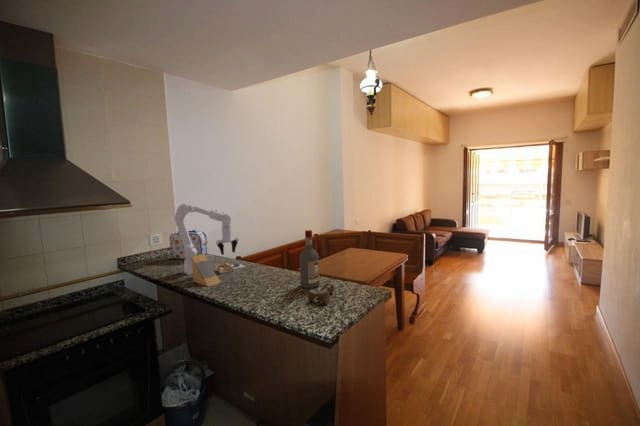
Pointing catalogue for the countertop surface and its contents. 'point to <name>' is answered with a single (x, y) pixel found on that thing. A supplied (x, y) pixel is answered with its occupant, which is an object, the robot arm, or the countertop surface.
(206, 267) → the sandwich container
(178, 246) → the lunch box
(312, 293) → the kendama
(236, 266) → the lid
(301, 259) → the liquor
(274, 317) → the countertop surface
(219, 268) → the box
